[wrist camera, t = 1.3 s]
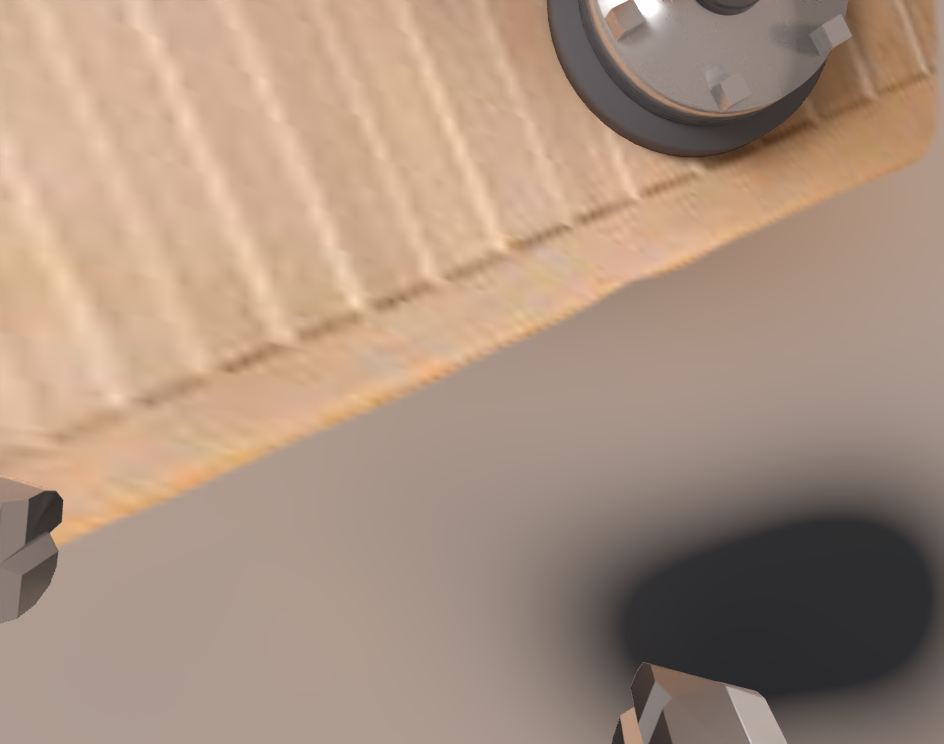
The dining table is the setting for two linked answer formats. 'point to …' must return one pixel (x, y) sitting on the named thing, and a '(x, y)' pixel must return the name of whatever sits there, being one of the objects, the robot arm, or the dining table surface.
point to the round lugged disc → (712, 51)
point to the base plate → (638, 119)
